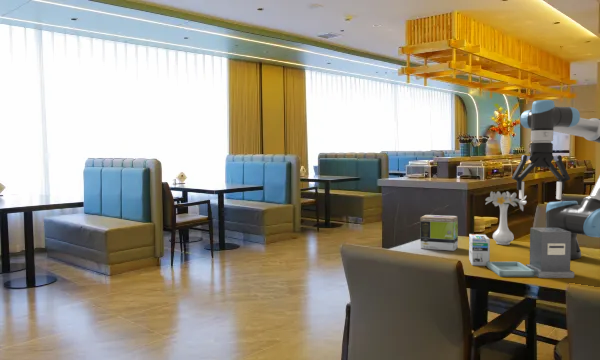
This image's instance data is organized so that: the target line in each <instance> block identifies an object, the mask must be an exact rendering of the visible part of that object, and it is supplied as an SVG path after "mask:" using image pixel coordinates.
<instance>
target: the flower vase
mask: <svg viewBox="0 0 600 360" xmlns="http://www.w3.org/2000/svg"><path fill="white" fill-rule="evenodd" d="M516 197H517V193H516V192H513V193H511V192H509V191H506V192H502V193H501V191H497V192H495V191H494V192H493V191H490V194H489V196H488V197H486V198H485V201H486V202H485V205H488V204H489V203H491V202H492V205H494V207H499V224H498V227H497V229H496V230H495V231H494V232H493V233H492V239H493V240H494V241H495V244H497V245H501V246H509V245H510V244H511V242H513V240H514V239H515V238H514V233H513V232H512V231H511V230H510V229H509V226H508V210H509V209H508V208H509V206H510V205H511V206H513V207H518V205H519V209H520V210H521V211H522V212H524V206H525V205H526V204H527V200H526V198H527V195H524V199H519V198H516Z"/></svg>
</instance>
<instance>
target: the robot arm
mask: <svg viewBox="0 0 600 360" xmlns="http://www.w3.org/2000/svg"><path fill="white" fill-rule="evenodd" d="M520 124H521V126H522V127H523V128H525V129H529V130H531V131H530V142H531V143H530V155H526V154H522V155H521V156H520V161H519V164H518V165H517V167H516V169H515V171H514V173H513V175H512V177H511V179H512V180H514V181H516V190H518V199H519V200H522V199H524V197H525V181H523V180H525V178H526V177H527V176H528V175H529V174H530V172H531V171H532V170H533V169H535V168H548V170H550V171H551V173H552V174H553V175H554V176H555V178H556V179H557V180H558V181H556V189H555V190H556V191H555V195H556V196H555V199H556V200H560V201H549V202H547V203H546V210H545V228H561V229H563V230H566V231H569V232H571V255H570V260H577V259H581V257H582V251H581V248H580V244H579V241H578V238H577V235H582V236H586V237H587V236H588V237H590V238H600V175H599V176H598V178H597V180H596V183H595V184H594V186H593V188H592V190H591V192H590V194H589V196H586V197H584V198H583V199H582V201H581V202H580V204H579V203H578V201H577V200H567V201H566V200H562V194H563V193H562V191H564V190H565V183H566V181H570V180H571V177H570V175H569V174H568V173H569V172H568V171H567V169H566V167H565V165H564V163H563V159H562V155H559V154H557V155H554V154H553V151H554V148H553V147H554V144H553V141H554V132H555V133H560V134H566V135H571V136H575V137H581V138H584V139H585V140H587V141H589V142H595V143H599V144H600V118H595V117H592V118H589V119H588V118H584V117H581V114H580V111H579V110H578V109H577V108H576V107H571V106H555V101H554V100H551V99H544V100H543V99H542V100H535V101H533V102H532V106H531V109H528V110H524V111H523V112H522V113H521V115H520ZM528 161H530V163H529V164H528V165H527V167H526V168H525V169H524V167H525V165H526V163H527V162H528ZM553 161H554V162H555V163H556V166H557V168H558V169H557V168H556V167H555V165H554V164H553V163H552V162H553ZM523 169H524V170H523ZM522 170H523V171H522ZM558 170H559V171H558Z"/></svg>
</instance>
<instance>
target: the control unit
mask: <svg viewBox="0 0 600 360" xmlns="http://www.w3.org/2000/svg"><path fill="white" fill-rule="evenodd" d="M529 233H530V234H529V238H530V239H529V264H525V266H527V267H528V268H530V269H532V270H534V271H535V277H538V278H540V279H543V278H544V279H545V278H546V279H563V278H564V279H574V278H575V271H572V270H571V259H570V255H571V232H569V231H566V230H563V229H561V228H546V227H530V230H529Z"/></svg>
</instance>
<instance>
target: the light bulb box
mask: <svg viewBox="0 0 600 360" xmlns="http://www.w3.org/2000/svg"><path fill="white" fill-rule="evenodd" d="M468 238H469V239H468V241H469V243H468V247H469V249H468V259H469V262H470V264H471V266H477V267H478V266H481V267H485V266H486V267H487V262H491V260H490V258H491V257H490V254H491V253H490V248H491V247H490V245H491V239H490V238H489V237H488V236H487V235H486V234H477V233H476V234H474V233H469V237H468Z"/></svg>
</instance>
